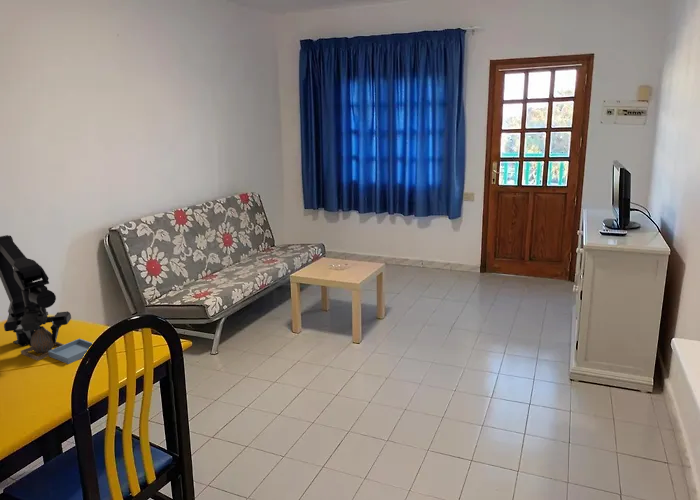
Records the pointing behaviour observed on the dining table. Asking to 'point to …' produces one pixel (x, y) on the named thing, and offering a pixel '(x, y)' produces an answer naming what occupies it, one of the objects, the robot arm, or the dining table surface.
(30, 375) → the dining table surface
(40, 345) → the vase
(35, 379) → the dining table surface
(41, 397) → the dining table surface
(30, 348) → the walnut frame
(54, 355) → the slate tray
